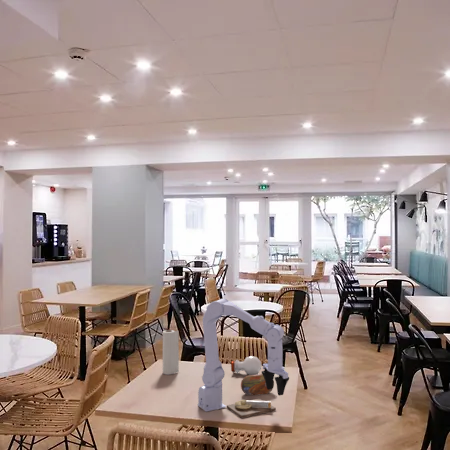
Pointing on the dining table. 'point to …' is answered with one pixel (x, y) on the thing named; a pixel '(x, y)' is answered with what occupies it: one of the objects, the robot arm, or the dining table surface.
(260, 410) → the lever switch plate
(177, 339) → the paper towel roll
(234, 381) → the dining table surface
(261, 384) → the tin
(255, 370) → the potion bottle
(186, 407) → the dining table surface
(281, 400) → the dining table surface
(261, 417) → the dining table surface
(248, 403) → the switch lever
